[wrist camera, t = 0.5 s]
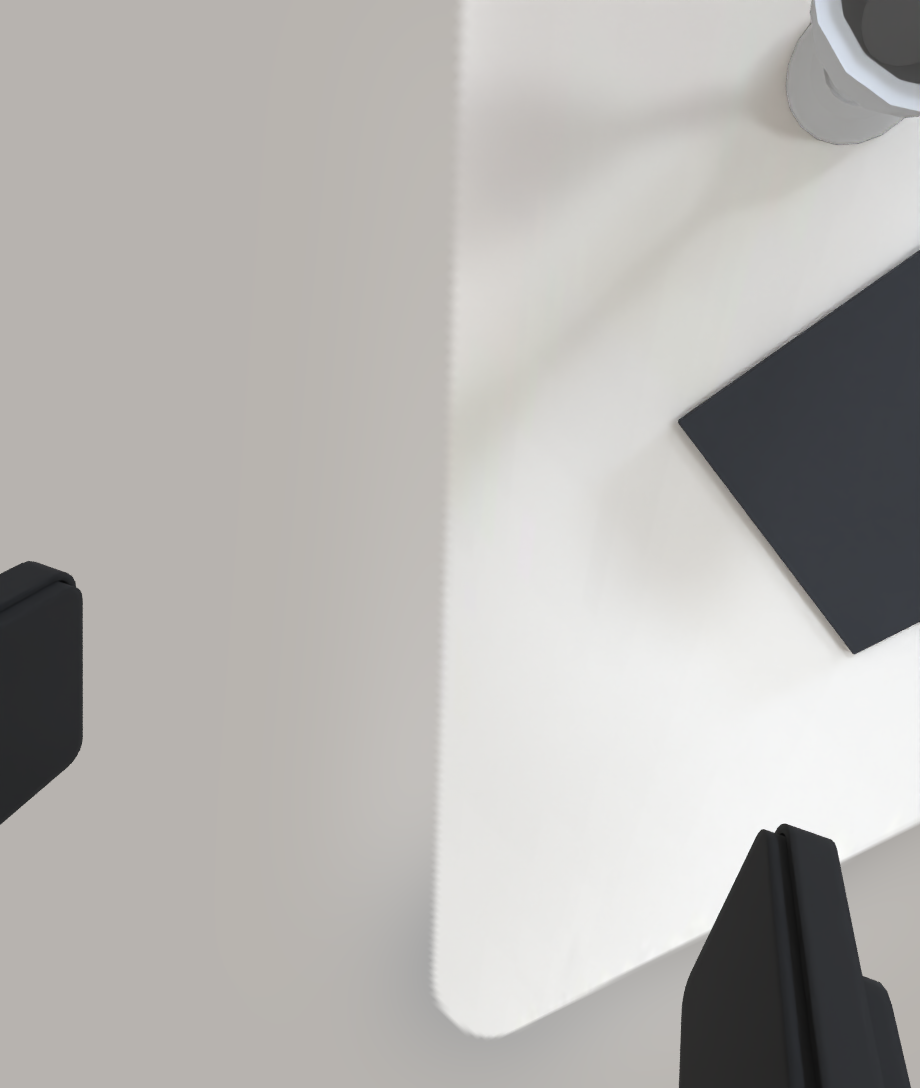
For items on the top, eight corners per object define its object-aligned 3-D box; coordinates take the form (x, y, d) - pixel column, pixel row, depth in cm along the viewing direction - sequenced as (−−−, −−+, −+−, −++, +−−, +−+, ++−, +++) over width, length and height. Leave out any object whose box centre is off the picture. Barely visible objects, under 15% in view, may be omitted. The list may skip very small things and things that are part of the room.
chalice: (834, 212, 32) (957, 198, 16) (719, 85, 32) (730, -59, 16) (1009, 53, 29) (1380, -162, 13) (884, -91, 29) (1109, -497, 13)
